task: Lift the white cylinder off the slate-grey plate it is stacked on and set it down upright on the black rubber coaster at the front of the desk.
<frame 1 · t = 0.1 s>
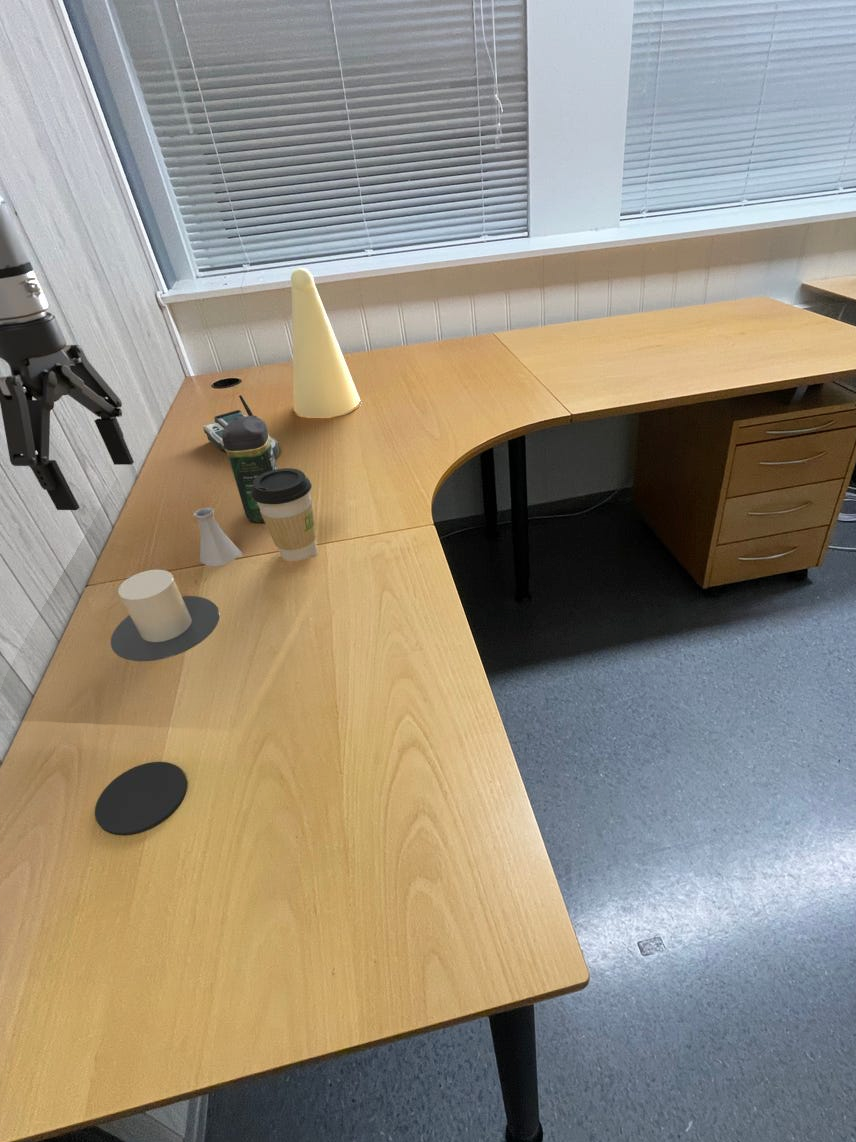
hand: (98, 485, 86), 23 cm above the table, tool pointing down, fingers open, 13 cm apart
coaster: (142, 797, 73), on the table
plate: (169, 632, 97), on the table, touching white cylinder
communication device: (247, 449, 151), on the table
cone light: (328, 411, 168), on the table
coffee jar: (268, 513, 126), on the table
white cylinder: (166, 626, 96), point 1 cm above the table, touching plate
flask: (222, 562, 112), on the table
coffee cup: (300, 557, 112), on the table
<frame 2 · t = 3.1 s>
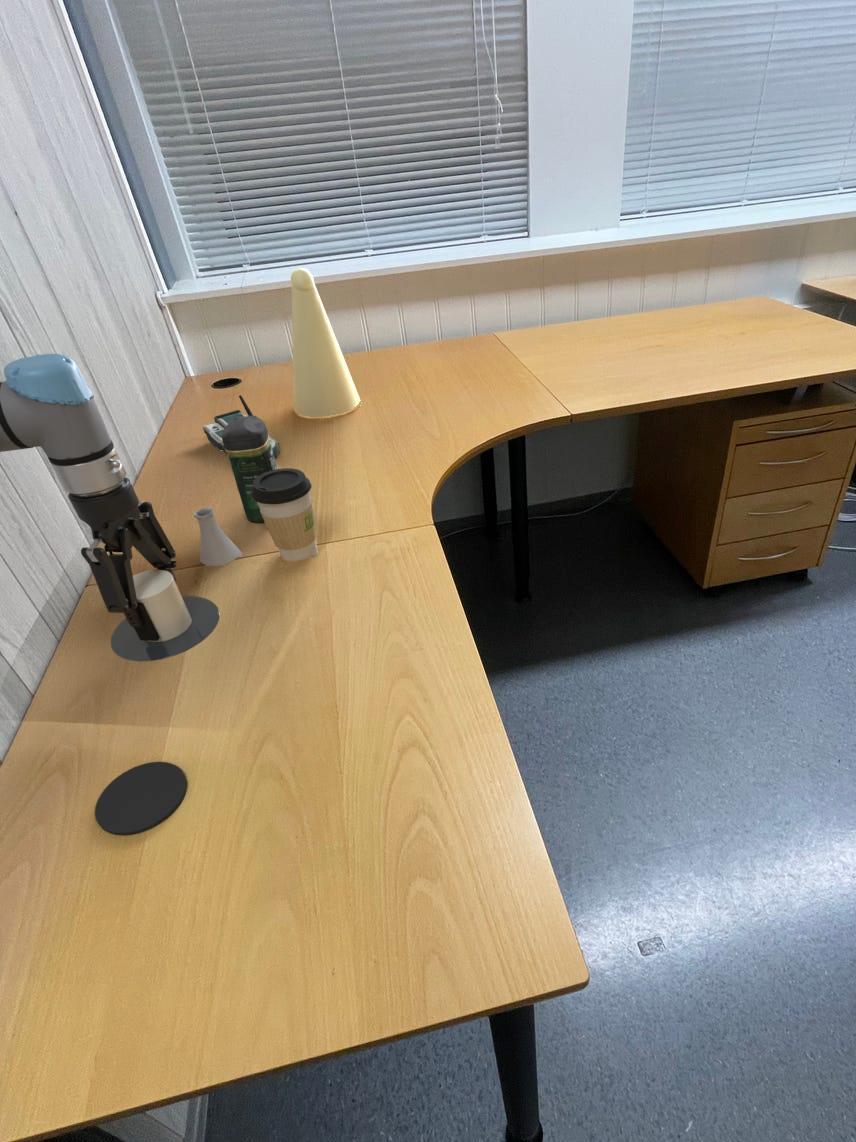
hand: (163, 621, 96), 2 cm above the table, tool pointing down, fingers closed on white cylinder, 8 cm apart
white cylinder: (166, 626, 96), point 1 cm above the table, touching gripper, plate
everything else where it was.
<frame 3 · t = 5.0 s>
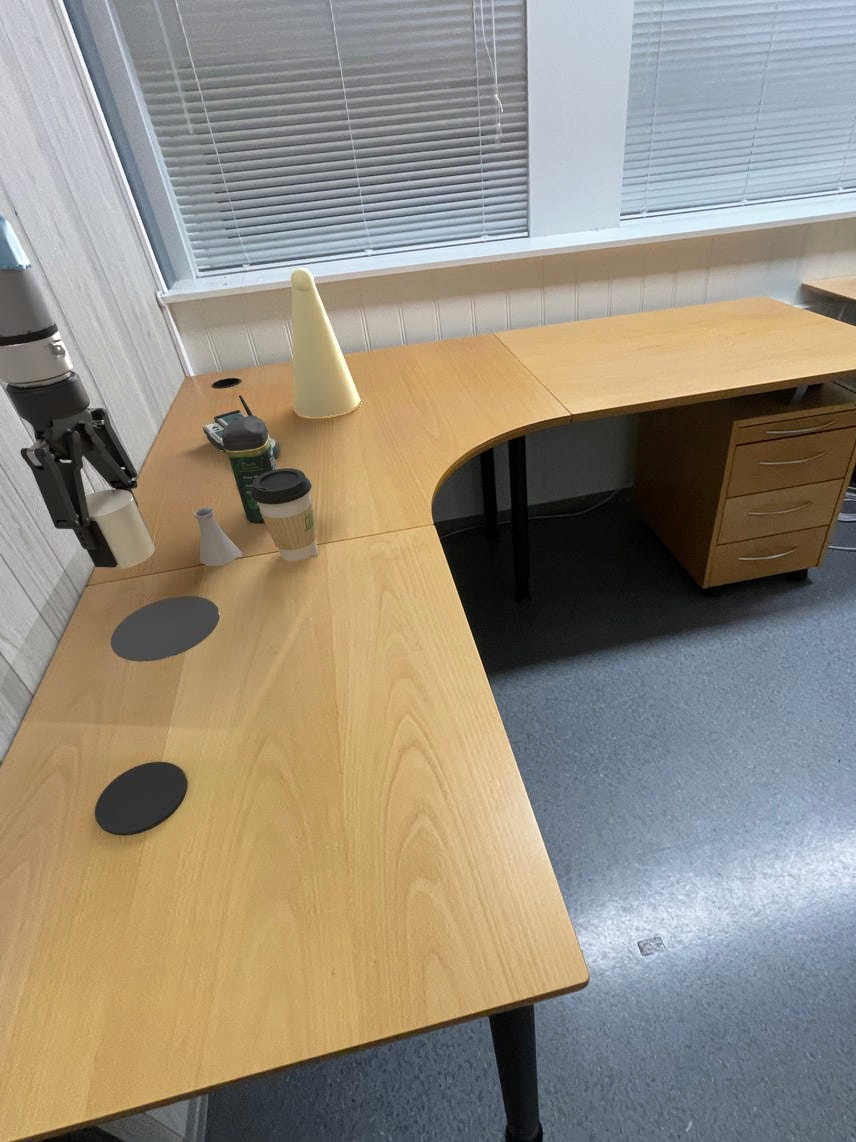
hand: (123, 548, 85), 16 cm above the table, tool pointing down, fingers closed on white cylinder, 8 cm apart
plate: (169, 632, 97), on the table
white cylinder: (126, 554, 86), point 15 cm above the table, touching gripper
everything else where it was.
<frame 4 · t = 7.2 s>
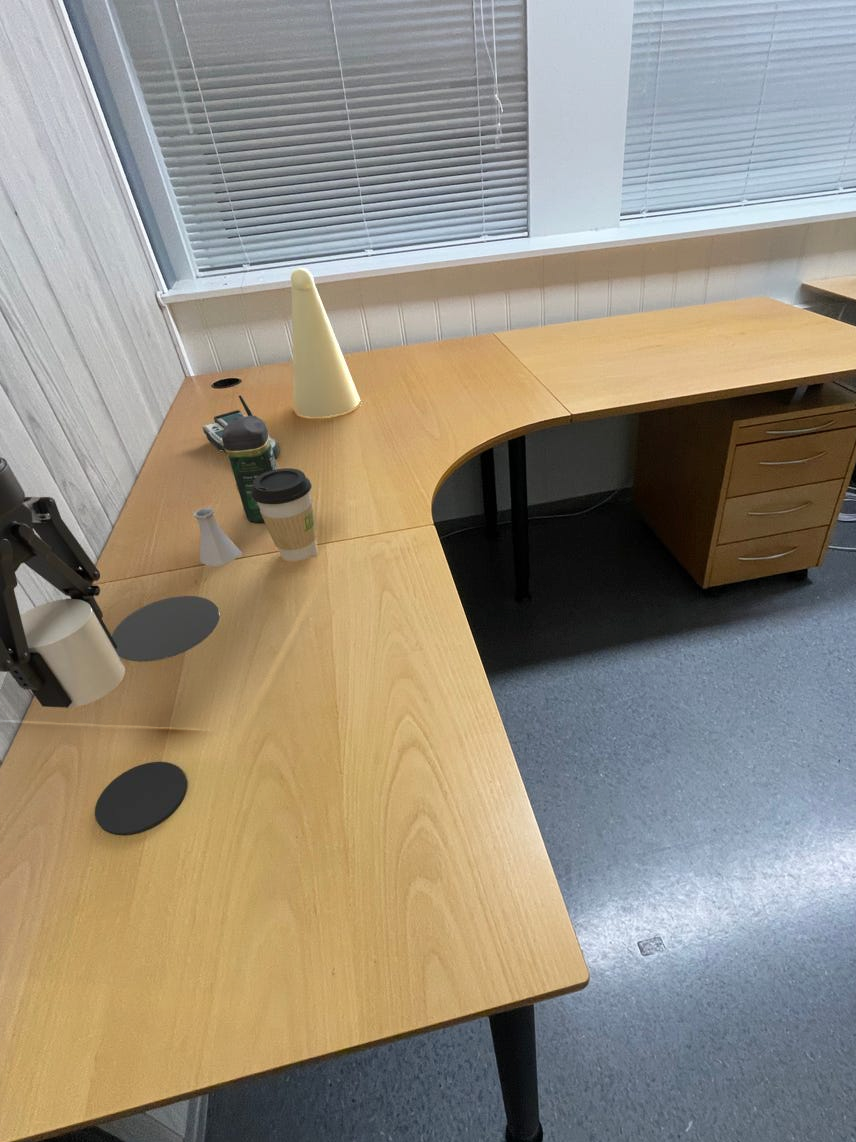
hand: (81, 674, 64), 17 cm above the table, tool pointing down, fingers closed on white cylinder, 8 cm apart
white cylinder: (86, 681, 65), point 16 cm above the table, touching gripper
everything else where it was.
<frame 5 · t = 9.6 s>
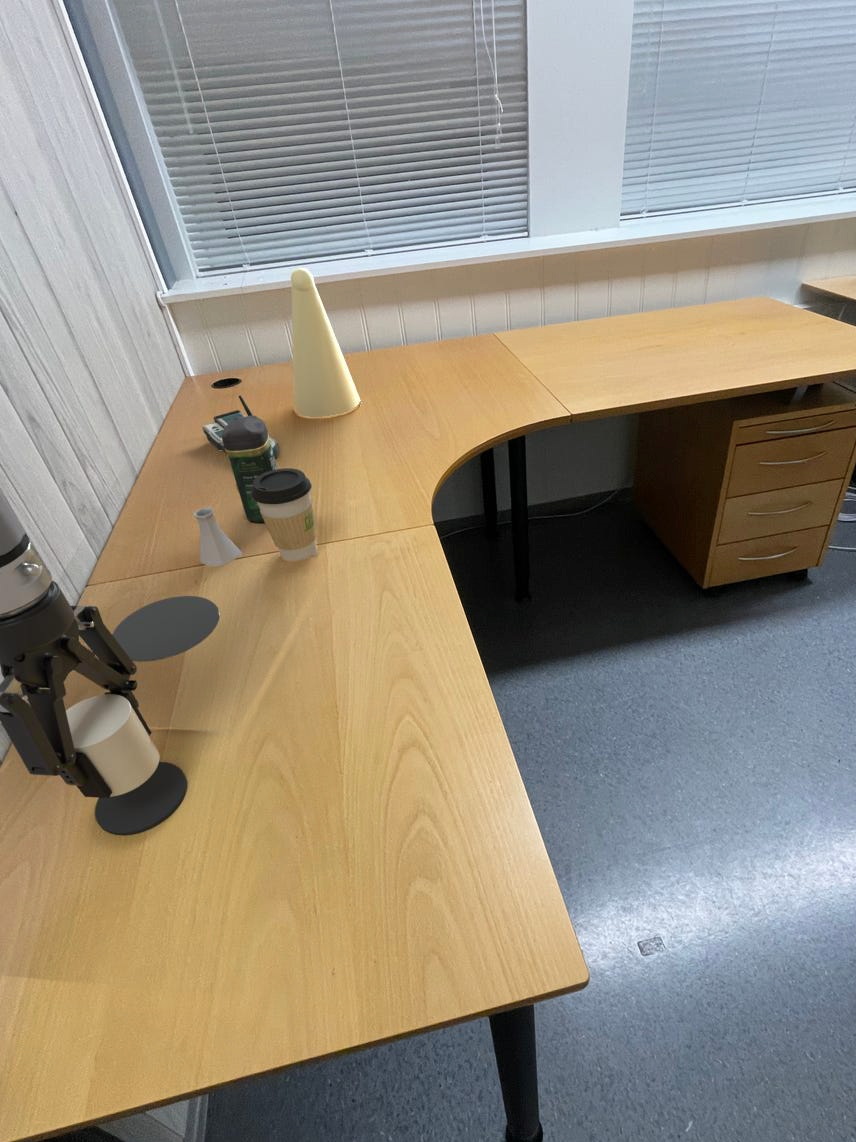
hand: (119, 763, 69), 7 cm above the table, tool pointing down, fingers closed on white cylinder, 8 cm apart
white cylinder: (123, 768, 69), point 6 cm above the table, touching gripper
everything else where it was.
when the fingers open (1 cm above the table, at t = 11.2 s): white cylinder stays where it is, resting on coaster.
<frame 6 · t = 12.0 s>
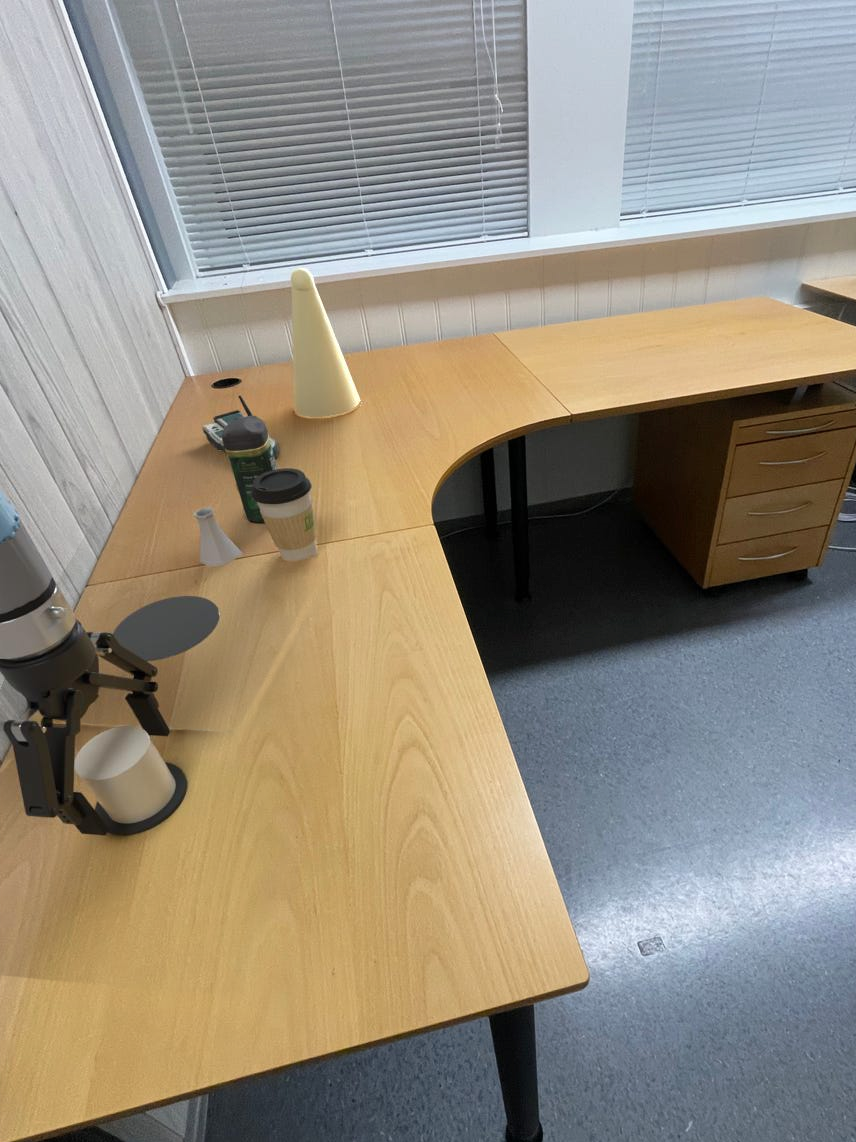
hand: (129, 779, 71), 4 cm above the table, tool pointing down, fingers open, 13 cm apart
white cylinder: (141, 795, 73), resting on coaster
everything else where it was.
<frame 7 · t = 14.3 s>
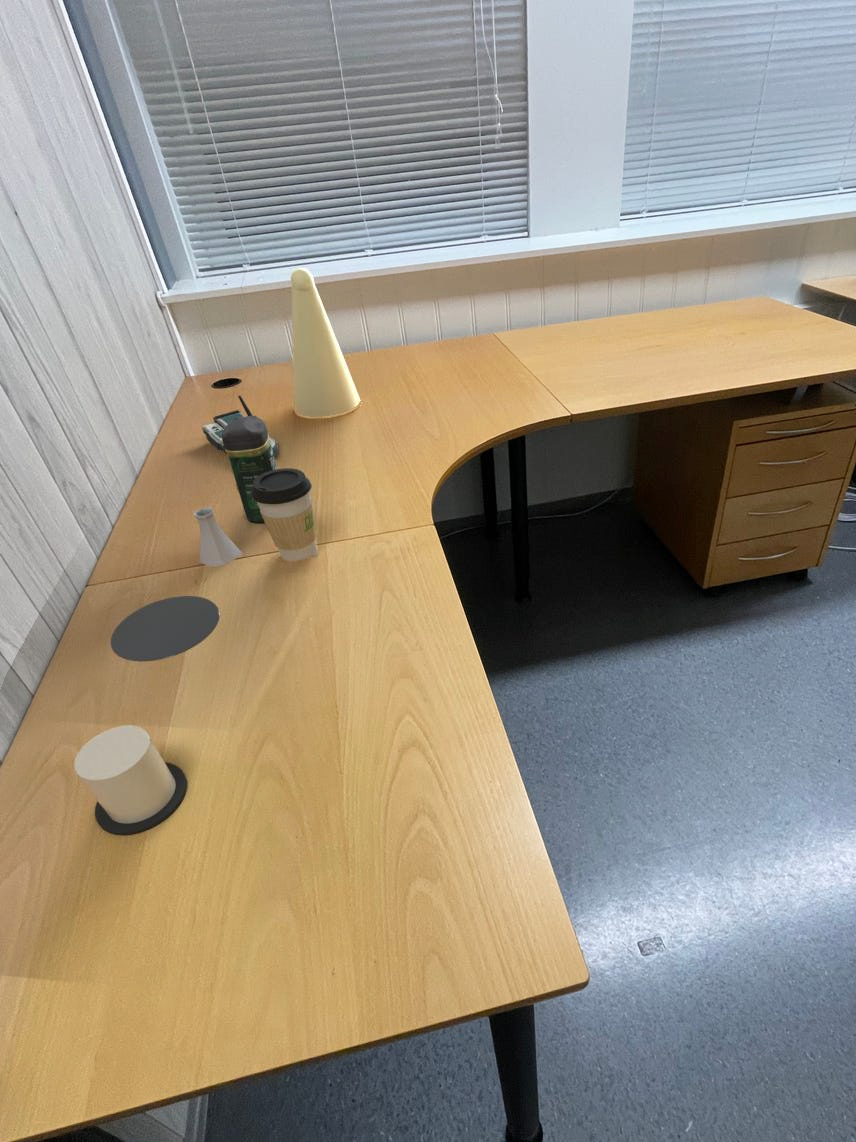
nothing on the table moved.
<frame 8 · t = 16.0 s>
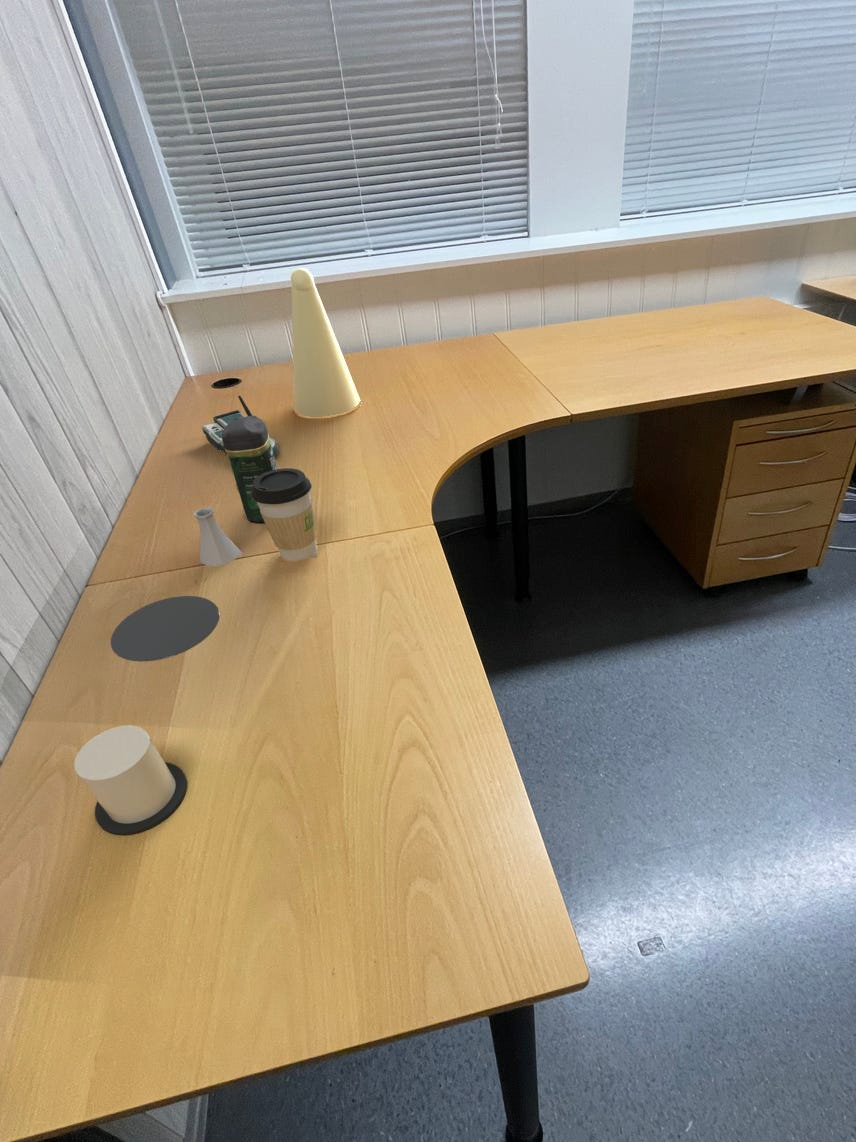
nothing on the table moved.
at the end: white cylinder 0.1 cm off-centre on the coaster, point 0.5 cm above the coaster's base; white cylinder tilted 0°; white cylinder touching coaster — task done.
